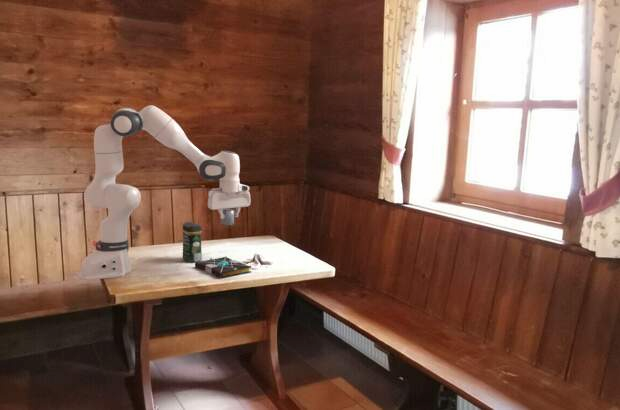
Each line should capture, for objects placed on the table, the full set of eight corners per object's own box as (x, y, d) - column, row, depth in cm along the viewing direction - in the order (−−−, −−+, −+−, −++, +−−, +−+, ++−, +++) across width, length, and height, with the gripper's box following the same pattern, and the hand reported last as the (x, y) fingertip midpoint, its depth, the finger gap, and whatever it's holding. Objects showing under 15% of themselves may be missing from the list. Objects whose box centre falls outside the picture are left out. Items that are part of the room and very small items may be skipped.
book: (194, 268, 240) (194, 257, 239) (225, 262, 251) (225, 252, 250) (220, 280, 224) (220, 268, 223) (252, 273, 235) (252, 262, 234)
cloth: (247, 272, 237) (248, 259, 236) (231, 262, 252) (231, 250, 251) (290, 267, 249) (290, 254, 248) (271, 257, 264) (272, 246, 263)
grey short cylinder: (226, 225, 232) (226, 211, 231) (219, 223, 236) (220, 209, 234) (236, 224, 236) (236, 210, 234) (229, 221, 239) (230, 208, 238)
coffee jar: (180, 259, 253) (180, 221, 250) (195, 256, 258) (195, 220, 255) (188, 263, 245) (188, 225, 242) (204, 261, 250) (204, 223, 247)
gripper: (212, 189, 223) (211, 221, 225) (252, 186, 236) (252, 216, 238) (205, 187, 228) (205, 218, 230) (245, 185, 240) (244, 214, 243)
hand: (229, 217), depth 234 cm, fingers closed on grey short cylinder, 5 cm apart
